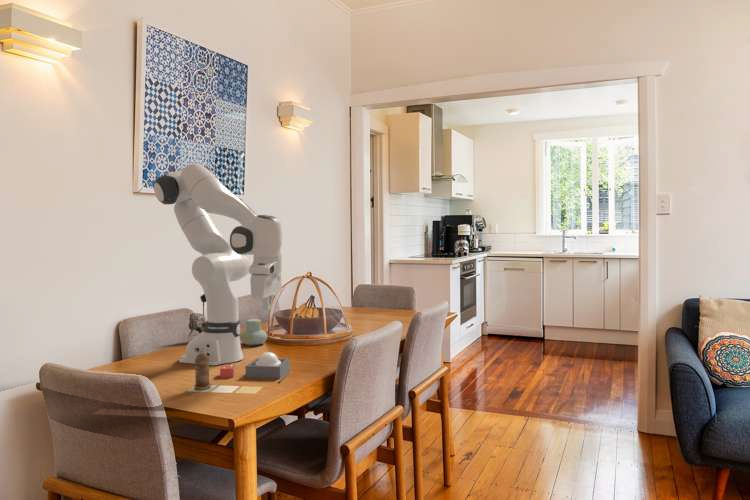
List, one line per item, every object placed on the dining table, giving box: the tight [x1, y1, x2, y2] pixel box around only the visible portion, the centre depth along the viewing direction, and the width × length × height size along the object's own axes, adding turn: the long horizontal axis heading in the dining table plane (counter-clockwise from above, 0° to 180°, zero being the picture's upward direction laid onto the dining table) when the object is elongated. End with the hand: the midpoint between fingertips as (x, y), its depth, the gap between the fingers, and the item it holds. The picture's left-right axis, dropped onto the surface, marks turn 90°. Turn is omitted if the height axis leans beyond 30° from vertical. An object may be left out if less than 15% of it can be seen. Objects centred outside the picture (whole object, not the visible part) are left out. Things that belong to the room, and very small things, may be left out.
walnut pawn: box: [193, 353, 212, 391], centre depth 164 cm, size 5×5×10 cm
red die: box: [219, 364, 236, 379], centre depth 178 cm, size 4×4×4 cm
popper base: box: [245, 357, 291, 384], centre depth 181 cm, size 11×11×5 cm
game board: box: [187, 384, 263, 395], centre depth 164 cm, size 21×9×1 cm, turn 83°
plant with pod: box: [187, 293, 207, 339], centre depth 238 cm, size 8×11×20 cm
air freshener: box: [239, 318, 268, 347], centre depth 232 cm, size 11×8×10 cm
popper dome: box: [255, 351, 281, 366], centre depth 181 cm, size 8×8×6 cm
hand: (267, 309), depth 180 cm, fingers closed
